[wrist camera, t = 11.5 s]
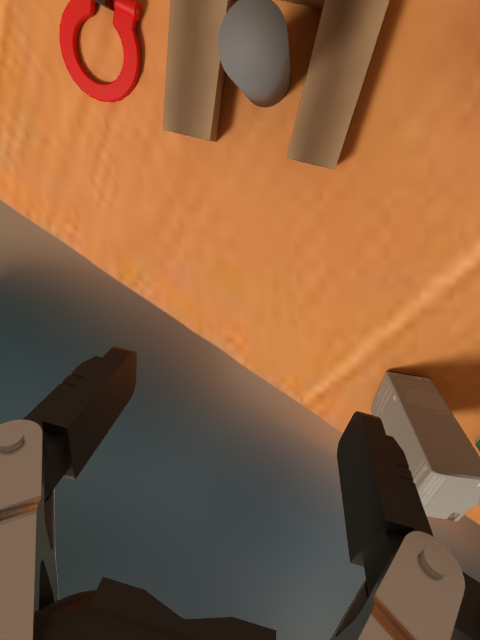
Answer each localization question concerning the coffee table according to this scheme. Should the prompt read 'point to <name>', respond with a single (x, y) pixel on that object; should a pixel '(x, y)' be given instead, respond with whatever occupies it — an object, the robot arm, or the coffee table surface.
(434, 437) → the skincare box
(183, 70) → the wooden gate frame
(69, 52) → the tow hook
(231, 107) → the coffee table surface
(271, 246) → the coffee table surface
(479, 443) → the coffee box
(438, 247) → the coffee table surface
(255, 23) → the grey tapered capsule
